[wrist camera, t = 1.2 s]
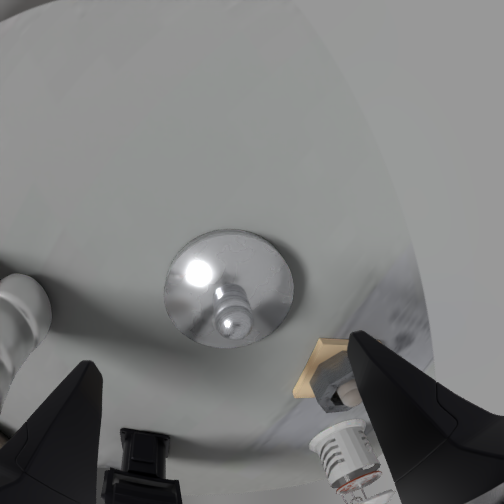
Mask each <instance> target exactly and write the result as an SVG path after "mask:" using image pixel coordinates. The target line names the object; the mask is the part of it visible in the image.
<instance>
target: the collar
mask: <svg viewBox="0 0 504 504" xmlns="http://www.w3.org/2000/svg"><path fill="white" fill-rule="evenodd" d="M352 379H355V378H354V375H353V371H352V368H351V364H350V361H349V358H348V354H347V351H341V352H339V353H337V354H336V355H334V356H332V357H331V358H329V359H327V360H326V361H324V362H322V363H320V364H319V365H318V367H317V369H316V371H315V373H314V374H313V376H312V378H311V380H310V382H309V383H310V386H311V388H312V390H313V393H314V395H315V397H316V399H317V402H318V403H319V405H320V406H321V407H322V408H323V410H324V411H325V412H326V413H332V412H342V411H348V410H350V409H351V408H353V407H348V406H346V405H344V404H343V402H342V400H341V399H340V397H339V395H338V393H337V391H336V389H337V388H338V387H340V386H342V385H343V384H345V383H347V382H348V381H350V380H352ZM362 402H363V401H362ZM362 402H361V403H362Z"/></svg>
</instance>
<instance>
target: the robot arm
mask: <svg viewBox="0 0 504 504" xmlns="http://www.w3.org/2000/svg"><path fill="white" fill-rule="evenodd" d="M347 354H348V358H349V361H350V364H351V368H352V371H353V375H354V378H355V382H356V385H357V388H358V391H359V394H360V396H361V399H362V401H363V404H364V406H365V408H366V411H367V413H368V416H369V418H370V421H371V423H372V426H373V428H374V431H375V433H376V436H377V438H378V441H379V443H380V446H381V448H382V451H383V453H384V456H385V459H386V461H387V464H388V466H389V469H390V472H391V474H392V477H393V480H394V482H395V486H396V489H397V491H398V494H399V497H400V500H401V503H402V504H504V416H500V415H495V414H492V413H490V412H488V411H486V410H484V409H482V408H480V407H478V406H476V405H474V404H473V403H471V402H469V401H467V400H465V399H464V398H462V397H460V396H458V395H456V394H455V393H453V392H452V391H450V390H449V389H447V388H446V387H444V386H443V385H441V384H440V383H438V382H436V381H435V380H434V379H432V378H431V377H429V376H428V375H427V374H425V373H424V372H422V371H421V370H419V369H418V368H416V367H415V366H414V365H412V364H411V363H409V362H408V361H406V360H405V359H403V358H402V357H400V356H399V355H398V354H396V353H395V352H393V351H392V350H390V349H389V348H387V347H386V346H385V345H383V344H382V343H380V342H379V341H377V340H376V339H374V338H373V337H372V336H370V335H369V334H367V333H366V332H364V331H362V330H360V331H355V332H352V333H351V334H350V337H349V342H348V346H347ZM102 388H103V378H102V375H101V373H100V371H99V370H98V368H97V367H96V365H95V364H94V362H93V361H91V360H83V361H81V362H80V363H79V364H78V365H77V366H76V367H75V368H74V369H73V370H72V371H71V373H70V374H69V375H68V376H67V377H66V378H65V379H64V380H63V381H62V382H61V383H60V384H59V385H58V387H57V388H56V389H55V390H54V391H53V392H52V393H51V394H50V395H49V396H48V397H47V399H46V400H45V401H44V402H43V403H42V404H41V405H40V406H39V407H38V409H37V410H36V411H35V412H34V413H33V414H32V415H31V416H30V418H29V419H28V420H27V422H25V423H24V424H23V426H22V427H21V428H20V429H19V430H18V431H17V432H16V433H15V434H14V436H13V437H12V438H11V439H10V440H9V441H8V442H7V443H6V444H5V445H4V446H3V447H2V448H0V504H96V481H97V461H98V447H99V436H100V427H101V417H102ZM120 435H121V442H122V448H123V457H122V466H121V470H117V469H115V468H111V467H110V470H108V471H105V476H104V483H103V488H102V493H101V498H102V499H103V500H104V502H105V504H182V498H181V492H180V485H179V480H168V479H166V458H168V451H169V442H170V437H169V436H166V435H159V434H152V433H146V432H140V431H134V430H129V429H123V428H122V429H120Z"/></svg>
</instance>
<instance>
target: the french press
mask: <svg viewBox="0 0 504 504" xmlns="http://www.w3.org/2000/svg"><path fill="white" fill-rule="evenodd" d="M365 427H366V422H365V421H364V420H360V419H353V420H348V421H344V422H341V423H338V424H336V425H333V426H331V427H329V428H328V429H326V430H324V431H322V432H321V433H319V434H318V435H317V436H316V437H314V438H313V439H312V441H311V442H310V444H309V449H310V450H312V451H314V452H316V453H318V455H319V457H320V459H321V463H322V465H323V466H324V470H325V472H326V475H327V478H329V483H330V486H331V487H332V488H338V489H337V491H336V494H339V495H342V498H343V500H344V501H345V503H346V504H348V503H347V501H346V500H345V499H344V496H343V494H347V493H349V492H350V493H351V494H352V496H353V499H352V500H351V502H350V503H351V504H353V503H352V501H353V500H354V499H355V500H356V501H357V502H358V503H357V504H387V503H388V502H389V501H390V500H391V498H392V497H393V495H394V494H395V492H396V491H393V490H388V491H384V492H382V493H379V494H377V495H375V496H372V497H370V498H367V497H366V495H365V493H364V491H363V489H362V488H363V487H365V486H367V485H369V484H370V483H373V482H374V481H375V480H377V479H378V478H380V476H381V475H382V472H381V471H376V470H377V469H378V468H379V467H380V465H381V464H380V462H379V461H378V459H377V457H376V455H375V453H374V451H373V449H372V447H371V446H370V443H369V441H368V439H367V437H366V436H365V433H364V430H365ZM365 437H366V438H365ZM365 443H367V445H366V446H365ZM368 443H369V444H368ZM369 449H370V450H369ZM368 450H369V452H368ZM372 451H373V452H372ZM336 452H338V453H339V455H338V456H335V455H334V453H336ZM323 459H324V462H322V461H323ZM338 459H341V460H342V462H341V463H338V462H337V460H338ZM371 464H375V465H374V466H373V467H371V468H369V469H365V470H363V469H362V467H364V466H367V465H371ZM325 466H327V468H326V469H325ZM328 472H329V474H328ZM344 475H346V477H347V482H346V481H345V479H344ZM348 476H349V479H350V481H348ZM358 489H361V490H362V492H363V494H364V497H365V500H362V498H361V497H356V498H355V496H354V495H353V492H352V491H355V490H358ZM357 498H360V500H361V502H359V501H358V500H357Z"/></svg>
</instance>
